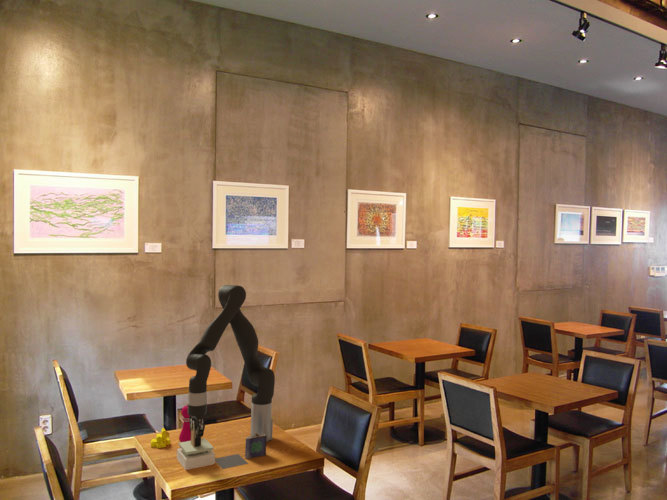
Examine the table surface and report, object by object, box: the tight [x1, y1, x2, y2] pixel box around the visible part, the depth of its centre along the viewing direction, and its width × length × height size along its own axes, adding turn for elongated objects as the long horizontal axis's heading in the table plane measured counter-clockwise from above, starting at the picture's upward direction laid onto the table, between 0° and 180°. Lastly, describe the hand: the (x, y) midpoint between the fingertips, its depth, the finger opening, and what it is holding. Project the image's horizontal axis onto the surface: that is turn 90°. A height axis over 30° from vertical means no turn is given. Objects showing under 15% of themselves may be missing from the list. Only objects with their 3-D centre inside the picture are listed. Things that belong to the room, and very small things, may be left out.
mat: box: [215, 453, 249, 470], centre depth 211 cm, size 11×11×1 cm
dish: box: [176, 447, 216, 471], centre depth 209 cm, size 12×12×4 cm
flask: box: [244, 431, 267, 460], centre depth 217 cm, size 9×3×11 cm, turn 121°
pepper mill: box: [178, 401, 191, 443], centre depth 224 cm, size 7×7×20 cm
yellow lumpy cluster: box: [150, 427, 171, 449], centre depth 226 cm, size 6×8×8 cm
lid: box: [178, 430, 214, 455], centre depth 209 cm, size 11×11×7 cm
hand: (196, 444), depth 209 cm, fingers closed on lid, 3 cm apart
